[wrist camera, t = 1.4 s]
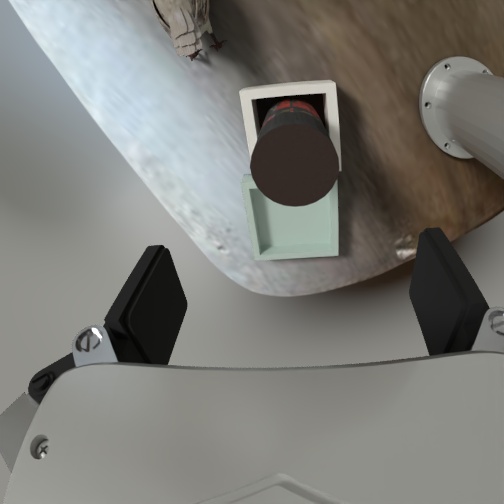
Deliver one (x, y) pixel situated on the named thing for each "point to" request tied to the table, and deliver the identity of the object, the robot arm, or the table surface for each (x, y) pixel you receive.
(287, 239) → the tray
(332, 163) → the deodorant
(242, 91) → the holder
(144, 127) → the table surface
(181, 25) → the decorative bird
